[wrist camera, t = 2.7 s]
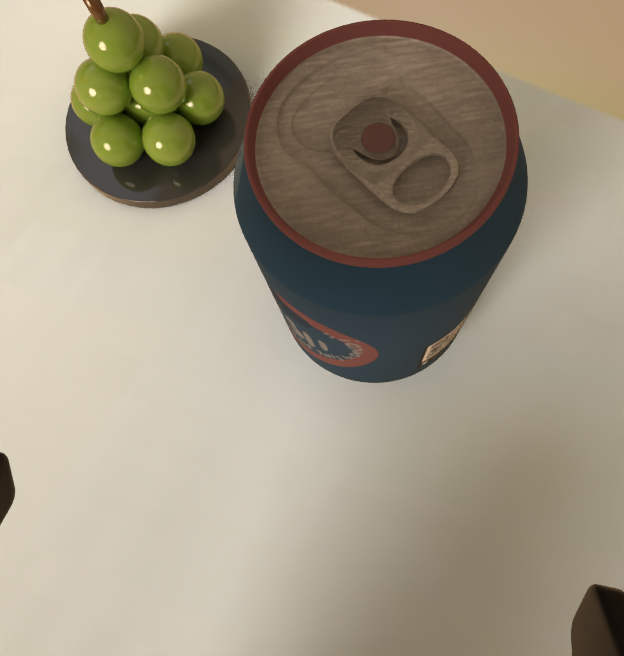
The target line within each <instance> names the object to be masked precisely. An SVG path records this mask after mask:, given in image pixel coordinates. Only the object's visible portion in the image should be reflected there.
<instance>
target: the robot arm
mask: <svg viewBox="0 0 624 656" xmlns="http://www.w3.org/2000/svg"><path fill="white" fill-rule="evenodd" d="M14 497H15V486H14V482H13V477H12V473H11V469H10V464H9V460H8V458H7V456H6V455H5V454H4V453H1V452H0V525H1V523H2V521H3V519H4V518H5V516H6V514H7V512H8V511H9V509H10V507H11V505H12V503H13V500H14ZM571 644H572V656H624V592H623V591H622V590H620V589H616V588H612V587H607V586H603V585H598V584H594V585H592V586H590V587H589V589H588V590H587V592H586V594H585V596H584V598H583V600H582V602H581V604H580V606H579V608H578V610H577V612H576V614H575V616H574V619H573V622H572V627H571Z"/></svg>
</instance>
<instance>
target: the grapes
mask: <svg viewBox="0 0 624 656" xmlns="http://www.w3.org/2000/svg"><path fill="white" fill-rule="evenodd" d="M83 1H84V3H85V5H86V6H87V8H88V10H89V11H90V13H91V15H90V16H89V17H88V19H87V20H86V22H85V24H84V28H83V44H84V47H85V50H86V52H87V54H88V56H89V57H90V58H88V59H87V60H85V61H84V62H82V63H81V64H80V66H79V67H78V69H77V71H76V73H75V77H74V86H73V88H72V91H71V102H70V105H69V108H68V113H67V117H66V128H65V129H66V141H67V146H68V150H69V153H70V155H71V158H72V160H73V162H74V164H75V166H76V167H77V169H78V170H79V172H80V173H81V174H82V175H83V177H84V178H85V179H86V180H87V181H88V182H89V183H90V184H91V185H92V186H93V187H94V188H95V189H96V190H97V191H99V192H100V193H102V194H103V195H105V196H106V197H108V198H110V199H112V200H114V201H116V202H119V203H122V204H126V205H129V206H135V207H142V208H160V207H168V206H173V205H177V204H181V203H184V202H187V201H190V200H192V199H194V198H196V197H198V196H201V195H202V194H204V193H206V192H207V191H209V190H211V189H212V188H213V187H214V186H216V185H217V184H218V183H220V182H221V181H222V180H223V179H224V178H225V177H226V176H227V175H228V174H229V173H230V172H231V171H232V169H233V168H234V167H235V165H236V160H237V156H238V152H239V149H240V146H241V143H242V140H243V138H244V133H245V126H246V121H247V117H248V114H249V111H250V108H251V105H252V101H251V97H250V94H249V90H248V87H247V84H246V81H245V79H244V77H243V75H242V73H241V72H240V70H239V69H238V68H237V66H236V65H235V64H234V63H233V61H232V60H231V59H230V58H229V57H228V56H226V55H225V54H224V53H223V52H221V51H220V50H219V49H217V48H215V47H213V46H212V45H210V44H208V43H205V42H203V41H200V40H197V39H193V38H191V37H189V36H187V35H186V34H183V33H179V32H171V33H167V34H164V35H163V36H162V34H161V32H160V30H159V29H158V27H157V26H156V25H155V24H154V23H153V22H152V21H151V20H150V19H148V18H147V17H145V16H142V15H139V14H129V13H128V12H126V11H124V10H122V9H120V8H116V7H103V5H102V3H101V1H100V0H83Z"/></svg>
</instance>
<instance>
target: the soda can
mask: <svg viewBox="0 0 624 656" xmlns="http://www.w3.org/2000/svg"><path fill="white" fill-rule="evenodd" d="M527 184H528V176H527V165H526V158H525V154H524V150H523V146H522V143H521V140H520V137H519V126H518V119H517V114H516V110H515V107H514V104H513V101H512V98H511V96H510V94H509V92H508V89H507V88H506V86H505V84H504V82H503V81H502V79H501V78H500V76H499V75H498V73H497V72H496V71H495V69H494V68H493V67H492V66H491V64H489V62H488V61H486V59H485V58H484V57H482V56H481V55H480V54H479V53H478V52H477V51H476V50H474V49H473V48H472V47H471V46H469V45H468V44H466V43H465V42H463V41H461V40H460V39H458V38H456V37H454V36H452V35H451V34H448V33H446V32H444V31H442V30H439V29H436V28H433V27H430V26H427V25H423V24H419V23H415V22H408V21H401V20H370V21H362V22H356V23H351V24H347V25H343V26H340V27H337V28H334V29H331V30H328V31H326V32H324V33H321V34H319V35H317V36H315V37H313V38H311V39H310V40H308V41H306V42H305V43H303V44H301V45H300V46H298V47H297V48H296V49H294V50H293V51H292V52H290V53H289V54H288V55H287V56H286V57H285V58H283V59H282V60H281V61H280V62H279V63H278V64H277V65H276V67H275V68H274V69H273V70H272V71H271V72H270V74H269V75H268V76H267V78H266V79H265V80H264V82H263V83H262V85H261V87H260V88H259V90H258V92H257V94H256V96H255V98H254V100H253V103H252V105H251V108H250V111H249V114H248V117H247V121H246V126H245V133H244V138H243V140H242V143H241V146H240V149H239V152H238V156H237V160H236V165H235V172H234V202H235V208H236V214H237V217H238V221H239V224H240V227H241V229H242V232H243V234H244V237H245V239H246V241H247V243H248V245H249V247H250V249H251V251H252V253H253V255H254V257H255V259H256V261H257V263H258V265H259V267H260V269H261V271H262V273H263V275H264V278H265V280H266V282H267V284H268V286H269V288H270V290H271V292H272V294H273V296H274V298H275V300H276V302H277V304H278V306H279V308H280V310H281V312H282V314H283V316H284V318H285V321H286V323H287V325H288V327H289V329H290V331H291V333H292V335H293V337H294V338H295V340H296V342H297V343H298V344H299V346H300V347H301V348H302V350H303V351H304V352H305V353H306V354H307V355H308V356H309V357H310V358H311V359H312V360H313V361H314V362H316V363H317V364H318V365H320V366H321V367H323V368H324V369H326V370H328V371H330V372H332V373H333V374H336V375H338V376H341V377H344V378H346V379H350V380H354V381H360V382H369V383H380V382H389V381H395V380H399V379H402V378H406V377H408V376H411V375H414V374H416V373H418V372H420V371H421V370H423V369H425V368H427V367H428V366H429V365H431V364H432V363H433V362H435V361H436V360H437V359H438V358H439V357H440V356H441V355H442V354H443V353H444V352H445V351H446V350H447V349H448V348H449V346H450V345H451V343H452V342H453V340H454V339H455V337H456V336H457V334H458V332H459V330H460V329H461V327H462V325H463V324H464V322H465V320H466V319H467V317H468V315H469V313H470V312H471V310H472V308H473V307H474V305H475V303H476V302H477V300H478V298H479V296H480V295H481V293H482V291H483V290H484V288H485V286H486V285H487V283H488V281H489V279H490V278H491V276H492V274H493V273H494V271H495V269H496V268H497V266H498V264H499V262H500V261H501V259H502V257H503V256H504V254H505V252H506V251H507V249H508V247H509V245H510V244H511V242H512V240H513V238H514V236H515V234H516V232H517V230H518V227H519V225H520V222H521V219H522V216H523V212H524V208H525V203H526V197H527Z"/></svg>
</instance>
